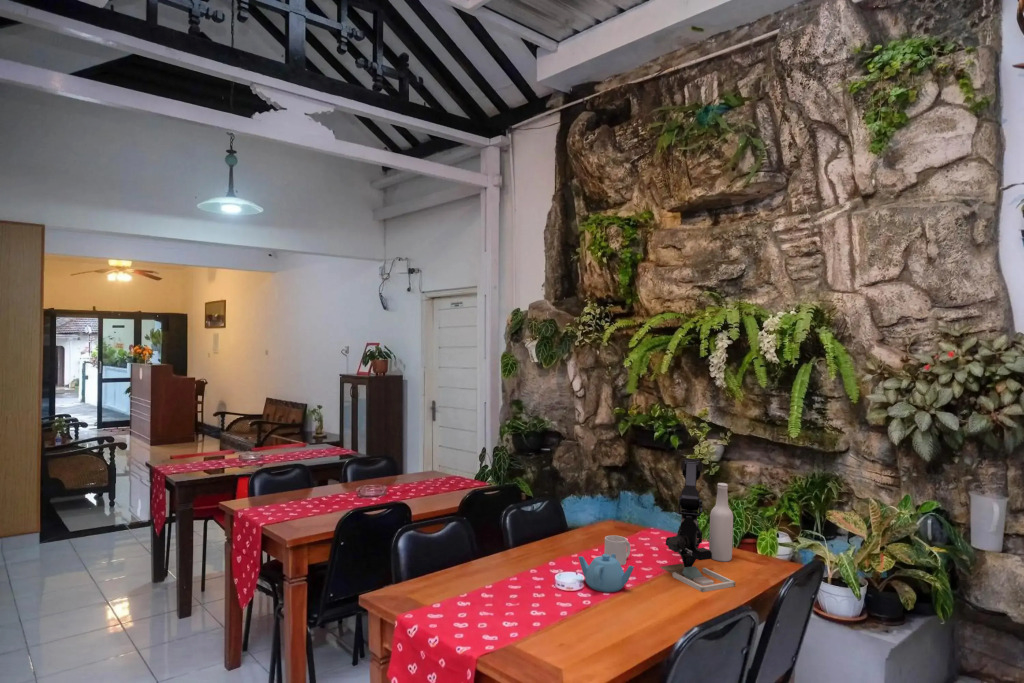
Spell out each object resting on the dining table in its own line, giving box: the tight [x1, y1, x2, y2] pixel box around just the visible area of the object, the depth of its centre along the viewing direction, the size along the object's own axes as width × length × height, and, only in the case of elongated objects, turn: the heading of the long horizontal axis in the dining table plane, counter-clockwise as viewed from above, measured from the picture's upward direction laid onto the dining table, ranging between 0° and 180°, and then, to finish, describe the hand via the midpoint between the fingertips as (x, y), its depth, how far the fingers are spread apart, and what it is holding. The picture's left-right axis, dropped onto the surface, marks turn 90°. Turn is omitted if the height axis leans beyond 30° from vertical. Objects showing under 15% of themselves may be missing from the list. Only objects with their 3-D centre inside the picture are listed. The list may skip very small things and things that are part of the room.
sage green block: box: [682, 565, 704, 581], centre depth 224 cm, size 5×5×2 cm
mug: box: [603, 535, 631, 566], centre depth 239 cm, size 12×8×10 cm
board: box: [659, 563, 703, 577], centre depth 231 cm, size 11×11×2 cm
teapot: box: [578, 553, 635, 593], centre depth 217 cm, size 15×15×11 cm
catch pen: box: [672, 567, 736, 593], centre depth 220 cm, size 15×15×3 cm
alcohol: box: [708, 482, 734, 563], centre depth 251 cm, size 9×9×30 cm
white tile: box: [692, 576, 715, 586], centre depth 220 cm, size 5×5×2 cm
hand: (687, 571), depth 227 cm, fingers closed
